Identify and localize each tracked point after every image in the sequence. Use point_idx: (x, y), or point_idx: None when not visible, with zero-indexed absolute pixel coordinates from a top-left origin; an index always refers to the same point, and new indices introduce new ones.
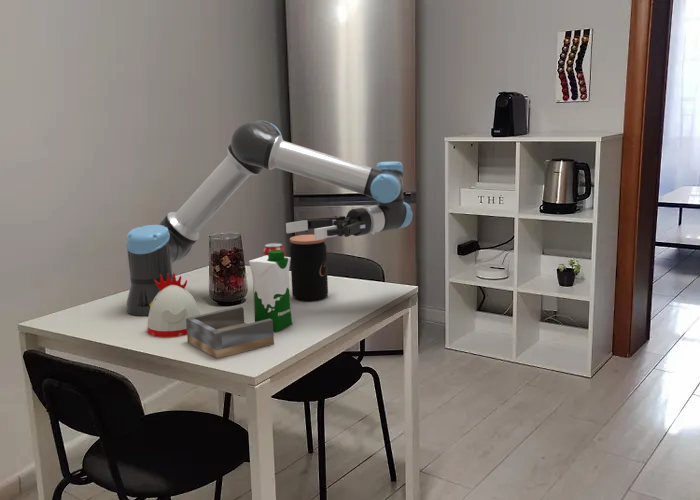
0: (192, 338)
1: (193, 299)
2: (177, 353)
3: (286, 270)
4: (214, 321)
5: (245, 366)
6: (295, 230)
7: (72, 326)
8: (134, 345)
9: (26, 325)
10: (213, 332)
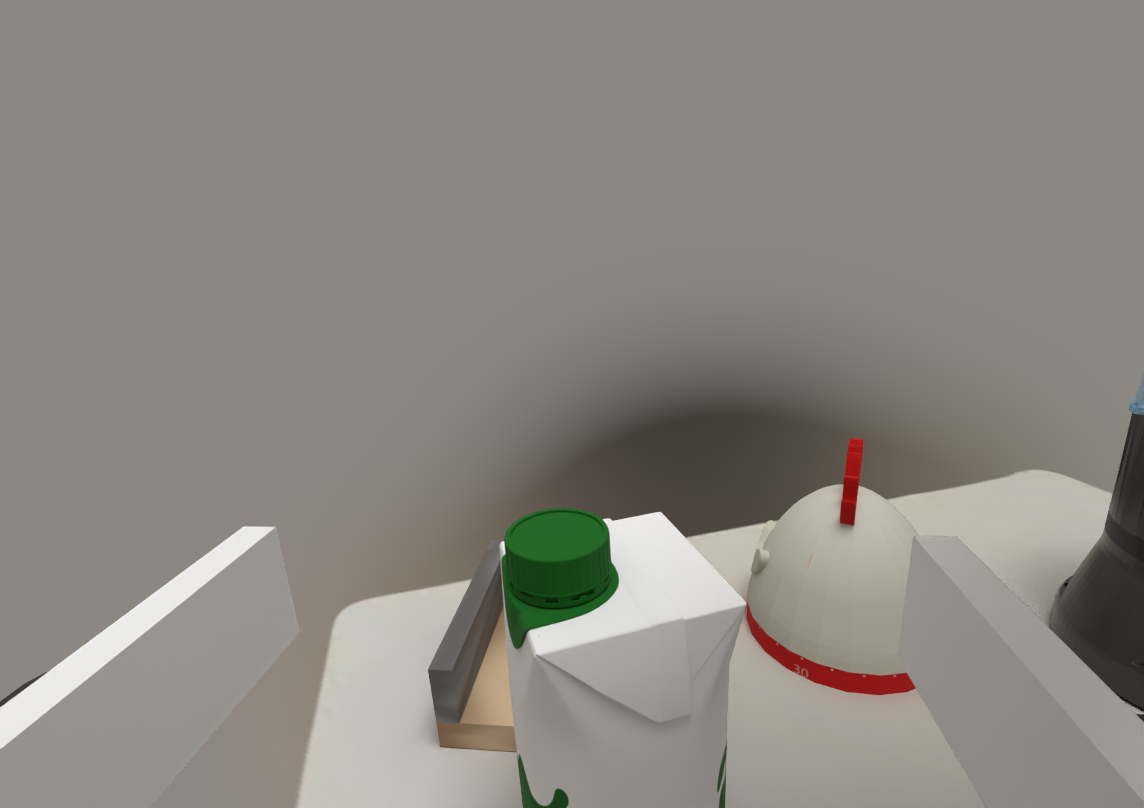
0: None
1: (824, 573)
2: None
3: (517, 672)
4: None
5: (394, 616)
6: (963, 744)
7: (985, 506)
8: (738, 538)
9: (1030, 470)
10: (502, 540)
